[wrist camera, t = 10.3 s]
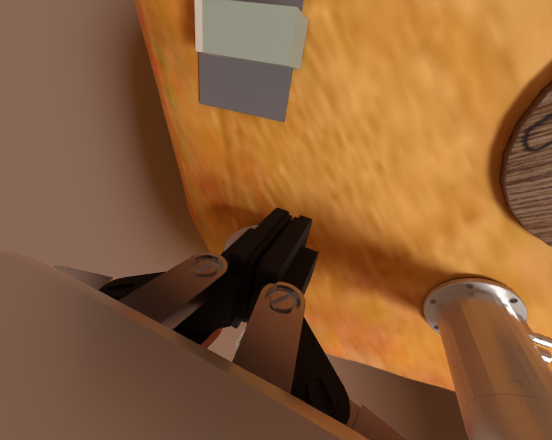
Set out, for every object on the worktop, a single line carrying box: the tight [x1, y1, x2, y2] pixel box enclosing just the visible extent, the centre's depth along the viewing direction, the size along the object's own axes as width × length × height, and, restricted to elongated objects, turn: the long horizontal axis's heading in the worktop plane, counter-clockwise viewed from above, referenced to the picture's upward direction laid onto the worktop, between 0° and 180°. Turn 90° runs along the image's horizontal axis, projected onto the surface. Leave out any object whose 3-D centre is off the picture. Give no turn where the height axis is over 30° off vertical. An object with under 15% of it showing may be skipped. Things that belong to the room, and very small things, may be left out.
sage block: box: [195, 0, 308, 70], centre depth 29 cm, size 5×5×12 cm
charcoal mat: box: [199, 0, 303, 122], centre depth 31 cm, size 14×18×1 cm
